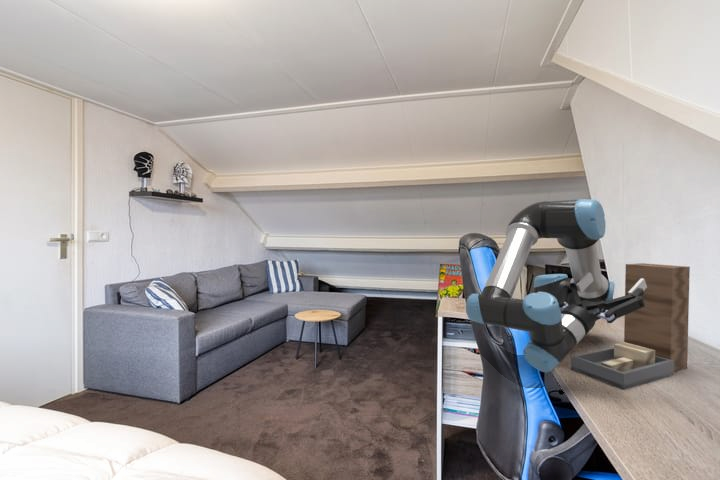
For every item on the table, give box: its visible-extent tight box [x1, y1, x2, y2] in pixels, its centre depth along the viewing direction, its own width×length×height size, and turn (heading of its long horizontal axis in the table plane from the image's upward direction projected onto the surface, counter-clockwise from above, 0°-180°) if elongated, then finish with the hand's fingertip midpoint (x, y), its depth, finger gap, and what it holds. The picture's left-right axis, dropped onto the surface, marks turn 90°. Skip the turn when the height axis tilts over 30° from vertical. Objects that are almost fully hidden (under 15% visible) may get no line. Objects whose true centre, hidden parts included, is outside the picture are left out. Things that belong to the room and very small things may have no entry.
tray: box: [570, 346, 675, 391], centre depth 99 cm, size 23×14×4 cm, turn 114°
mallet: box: [601, 341, 655, 372], centre depth 99 cm, size 16×8×6 cm, turn 114°
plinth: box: [623, 262, 691, 373], centre depth 105 cm, size 9×12×30 cm
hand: (616, 279), depth 97 cm, fingers open, 13 cm apart
